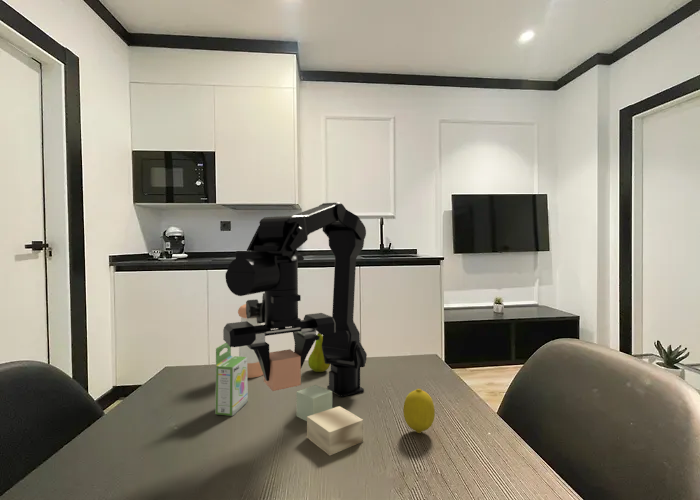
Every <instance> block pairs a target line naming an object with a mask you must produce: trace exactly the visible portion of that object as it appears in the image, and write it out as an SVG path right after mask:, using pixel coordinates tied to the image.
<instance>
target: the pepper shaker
mask: <svg viewBox="0 0 700 500" xmlns="http://www.w3.org/2000/svg"><path fill="white" fill-rule="evenodd" d="M237 313H238V316H239V317H240V322H245V321H247V322H249V323H250V324H252V325H253V326H258V325H263V323H257V318H249V319H248V318H247V316H246V303H245V304H242V305H241V306H239V307H238V309H237ZM238 357H247V379H253V378H258V377H261V376H264V374H263V372H262V369H261V366H260V363H259V361H258V358H257V356H256V354H255V352H254V350H252V349H250V348H249V347H248V346H240V347H238Z"/></svg>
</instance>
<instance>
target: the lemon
mask: <svg viewBox="0 0 700 500" xmlns="http://www.w3.org/2000/svg"><path fill="white" fill-rule="evenodd" d="M403 403H404V404H403V408H402V409H403V418H404V420H405V424H406V425H407V426H408V427H409V428H410V429H411V430H413V431H415V432H416V433H418V434H421V433H422V432H425V431H427V430H428V429H430V428H431V427H432V425H433V423H434V420H435V415H436V409H435V405H434V401H433V398H432V397H431V396H430V394H429V393H427V391H424V390H422V389H421V388H416V389H415V390H412V391H410V392H409V393H408V394H407V396H406V397H405V400H404V402H403Z"/></svg>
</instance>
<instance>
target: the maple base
mask: <svg viewBox="0 0 700 500" xmlns="http://www.w3.org/2000/svg"><path fill="white" fill-rule="evenodd" d="M306 439H308V440H310V441H311V442H312V443H313V444H314V445H316V446H317V447H318V448H320V450H322V451H323V452H325V453H326V454H327V455H328V456H332V455H334V454H336V453H339V452H341V451H345V450H347V449H349V448H352V447H354V446H356V445H358V444H361V443H363V442H364V419H363V418H360V417H359V416H357V415H356V414H354V413H353V412H351V411H349V410H347V409H345V408H343V406H340V405H339V406H335V407H332V409H329V410H326V411H323V412H320V413H317V414H313V415H310V416H307V421H306Z"/></svg>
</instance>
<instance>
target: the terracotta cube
mask: <svg viewBox="0 0 700 500" xmlns="http://www.w3.org/2000/svg"><path fill="white" fill-rule="evenodd" d="M269 354H270V376H269V381H266V380H265V377H264V376H263V382H264V384H265V385H266V386H267V387H268V388H269V389H270V390H271V391H272V392H276V391H279V390H284V389H289V388H293V387H297V386H302V380H301V378H302V376H301V375H302V374H301V373H302V372H301V370H302V368H301V356H299V355H298V354H296V353H295V352H294V350H292V349H290V348H289V349H284V350H277V351H271V352H270V351H269Z"/></svg>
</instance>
